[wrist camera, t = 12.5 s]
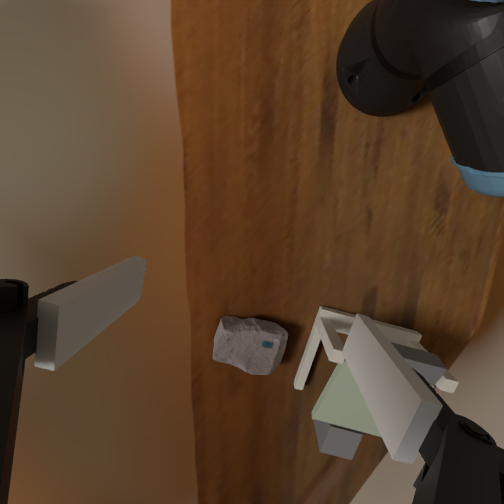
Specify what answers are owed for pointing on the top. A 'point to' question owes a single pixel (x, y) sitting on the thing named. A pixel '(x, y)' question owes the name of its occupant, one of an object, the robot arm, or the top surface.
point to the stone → (250, 344)
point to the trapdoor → (351, 400)
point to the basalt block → (337, 439)
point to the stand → (342, 322)
